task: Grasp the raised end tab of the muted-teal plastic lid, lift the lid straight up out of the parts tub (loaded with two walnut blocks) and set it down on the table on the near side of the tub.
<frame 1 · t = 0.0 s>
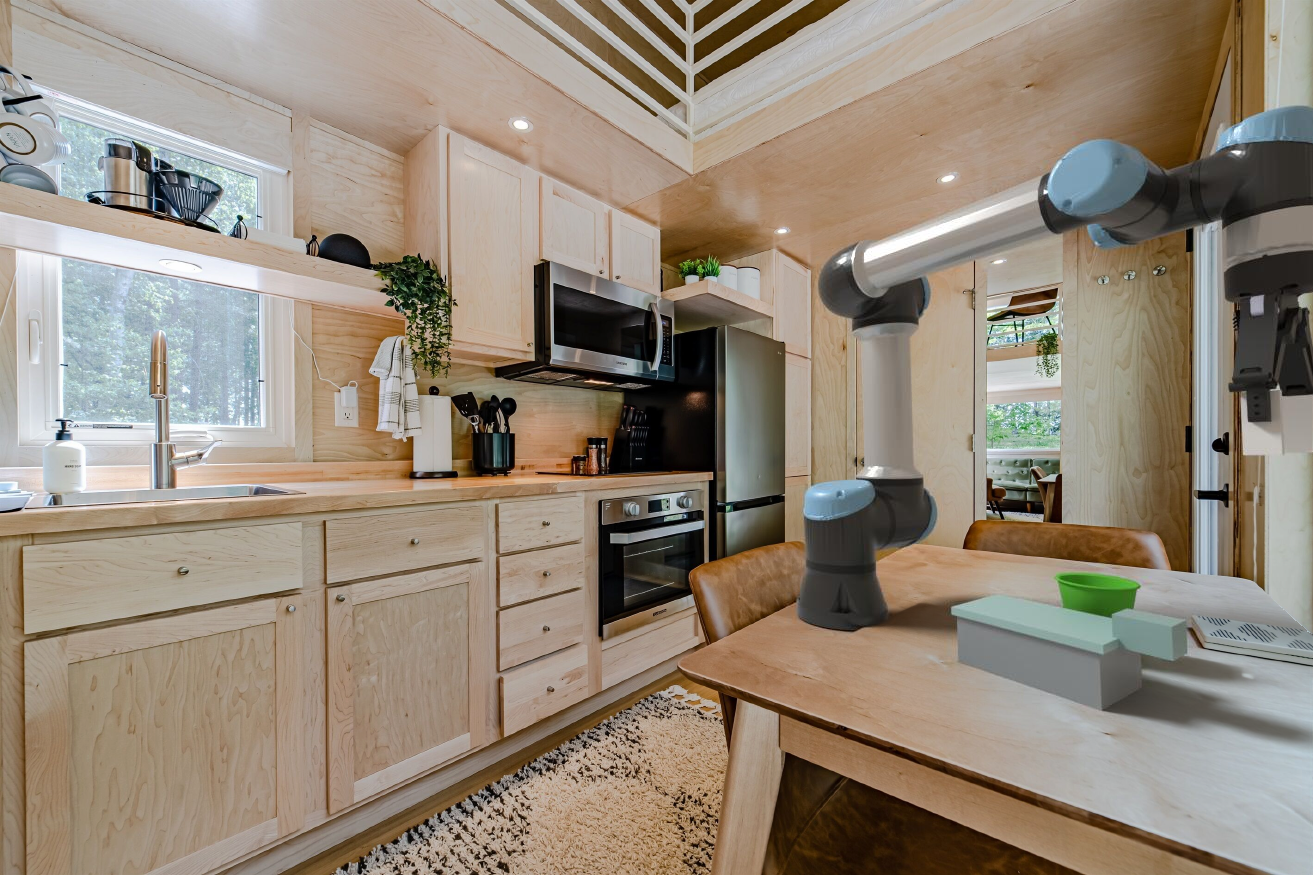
hand: (1282, 454, 58), 28 cm above the table, fingers open, 13 cm apart
block a: (1008, 663, 70), point 1 cm above the table, touching tub
cup: (1098, 663, 72), on the table
tub: (1044, 679, 67), on the table
block b: (1071, 678, 65), point 1 cm above the table, touching tub
lid: (1042, 623, 67), point 7 cm above the table, touching tub
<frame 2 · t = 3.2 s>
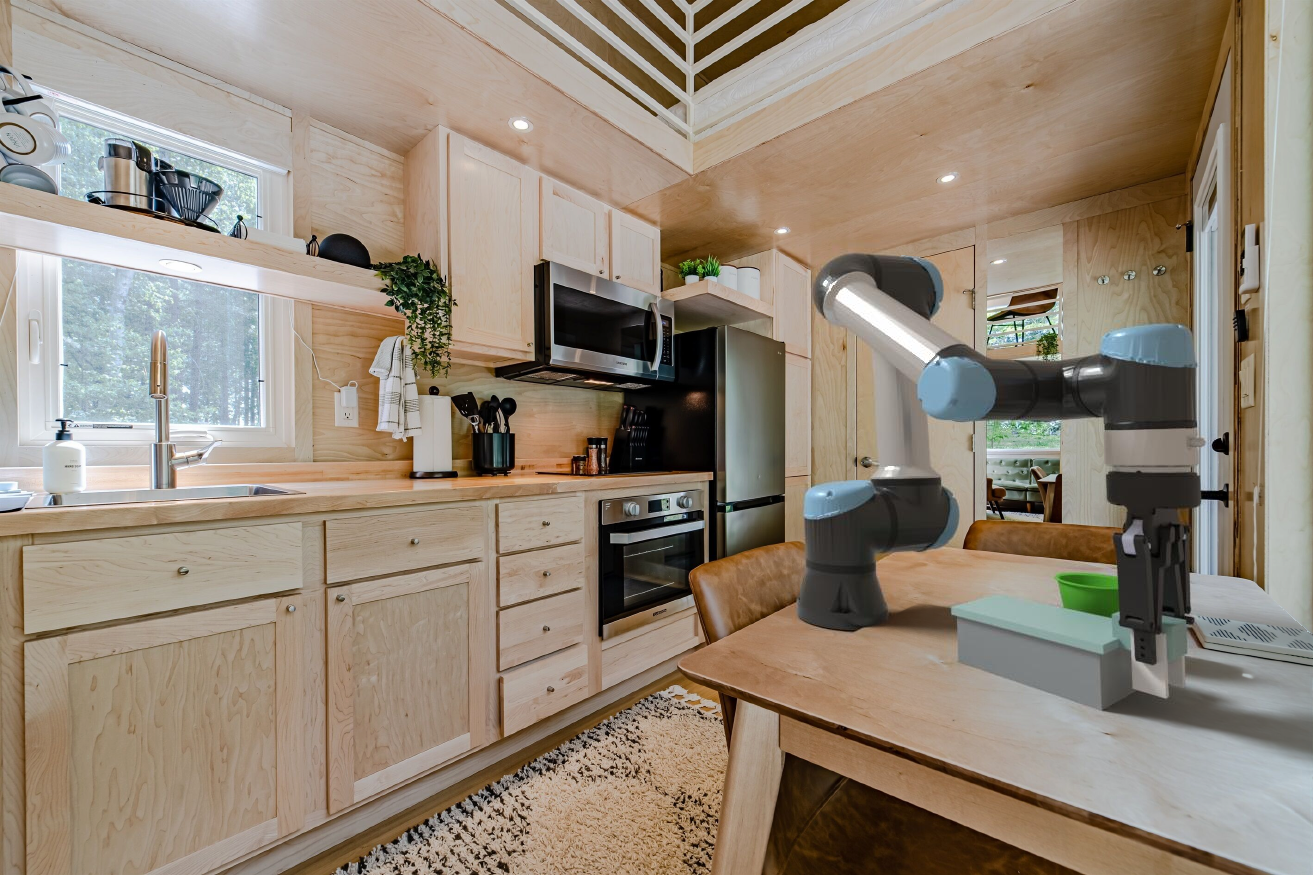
hand: (1159, 686, 58), 3 cm above the table, fingers closed on lid, 4 cm apart
lid: (1042, 623, 67), point 7 cm above the table, touching gripper, tub
everything else where it was.
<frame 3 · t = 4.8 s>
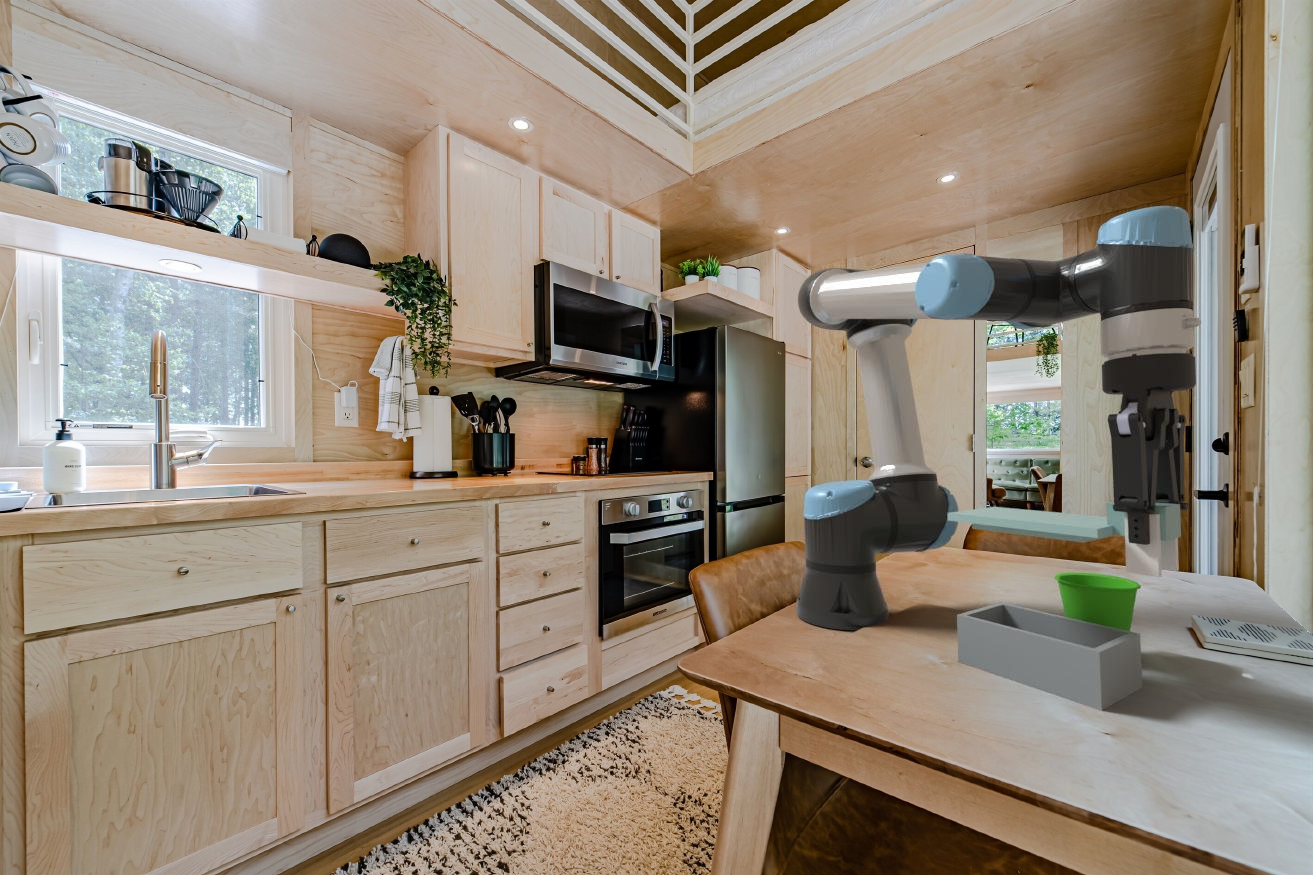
hand: (1152, 570, 58), 16 cm above the table, fingers closed on lid, 4 cm apart
lid: (1038, 524, 68), point 19 cm above the table, touching gripper
everything else where it was.
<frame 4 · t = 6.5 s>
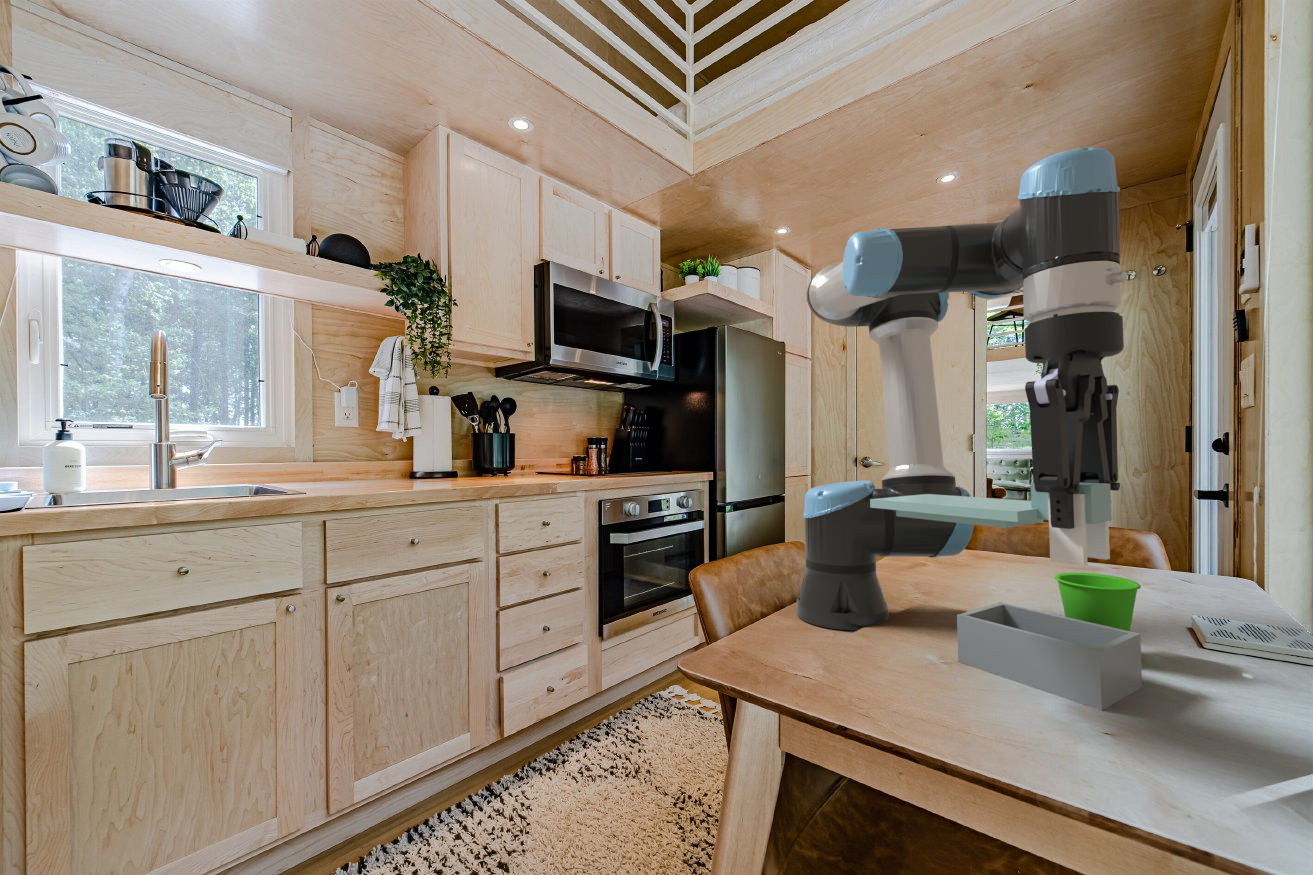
hand: (1080, 559, 51), 18 cm above the table, fingers closed on lid, 4 cm apart
lid: (965, 510, 61), point 22 cm above the table, touching gripper
everything else where it was.
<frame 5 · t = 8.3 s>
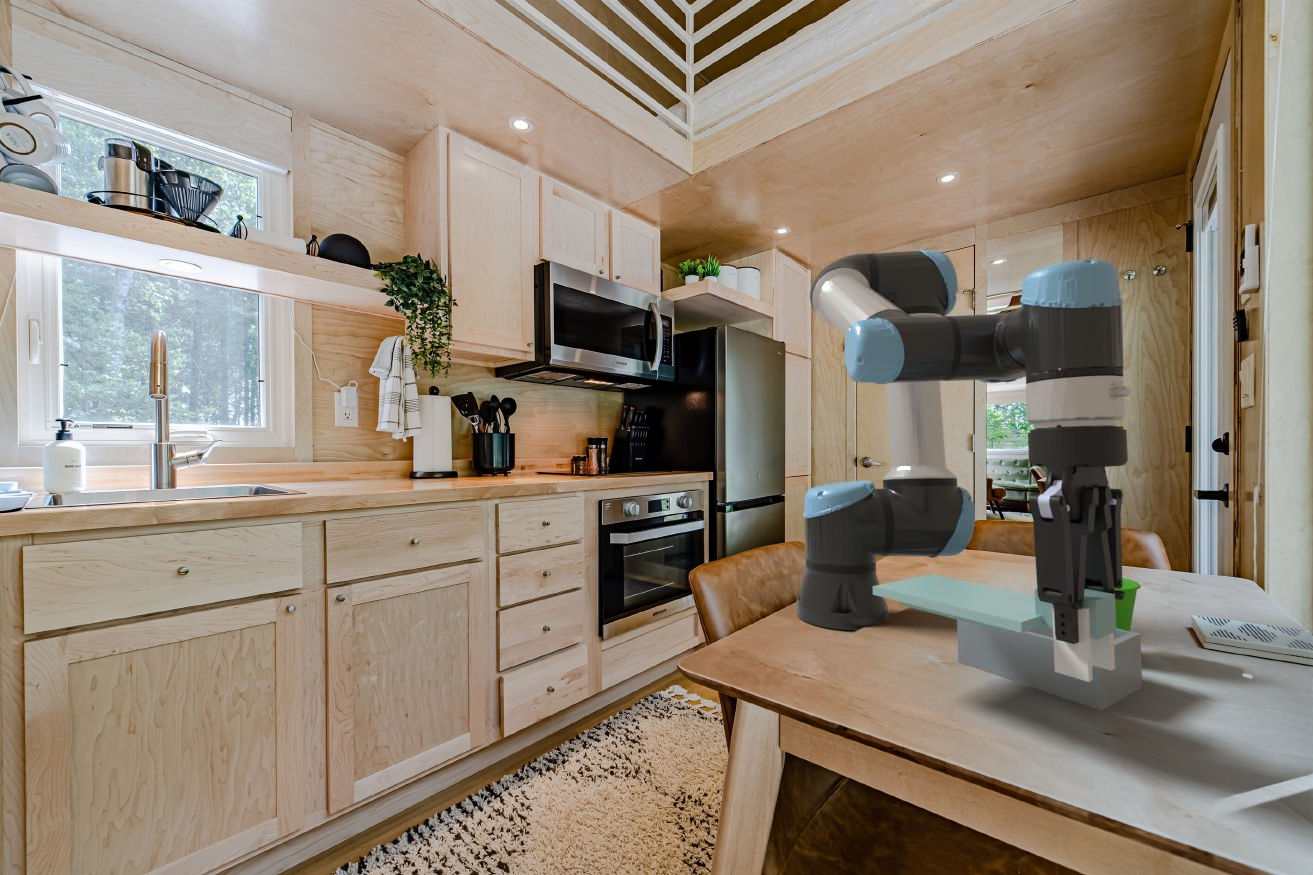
hand: (1084, 669, 51), 8 cm above the table, fingers closed on lid, 4 cm apart
lid: (968, 603, 61), point 12 cm above the table, touching gripper
everything else where it was.
when the fingers open (2 cm above the table, at t = 9.8 s): lid drops 5 cm, point 1 cm above the table.
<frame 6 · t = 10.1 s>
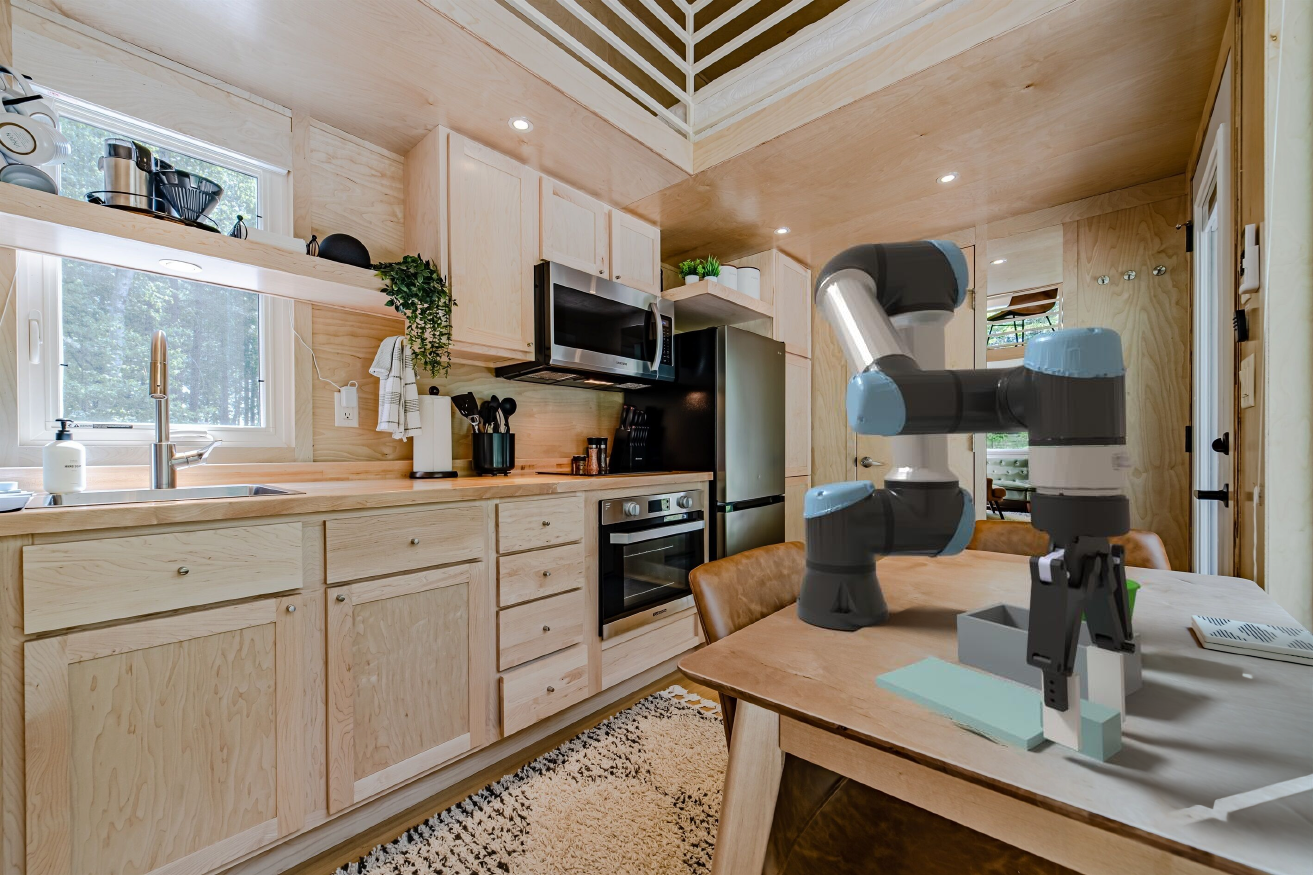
hand: (1085, 728, 51), 2 cm above the table, fingers open, 8 cm apart
lid: (972, 700, 60), point 1 cm above the table
everything else where it was.
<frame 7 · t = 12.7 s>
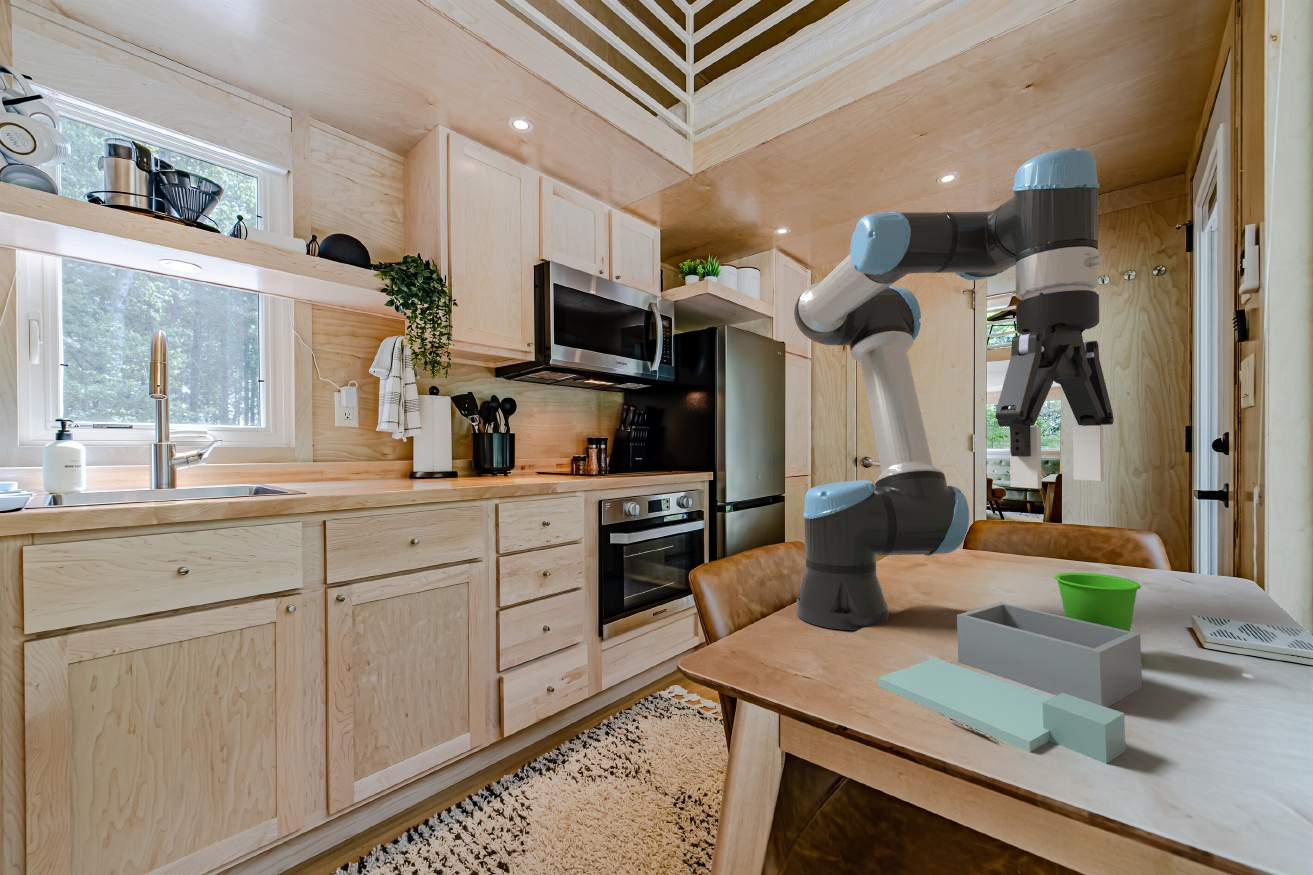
hand: (1058, 484, 61), 25 cm above the table, fingers open, 13 cm apart
nothing on the table moved.
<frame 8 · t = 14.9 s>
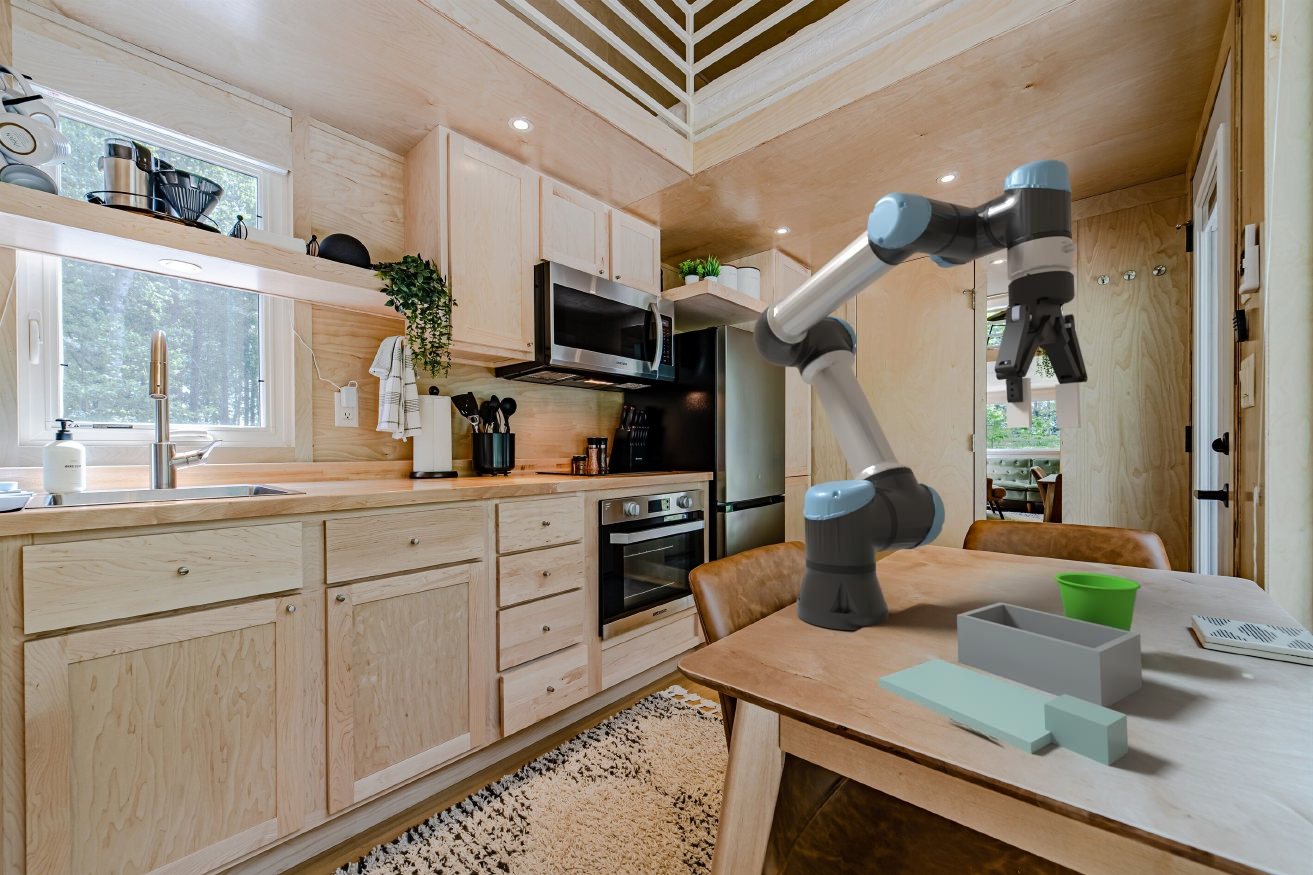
hand: (1045, 428, 75), 32 cm above the table, fingers open, 13 cm apart
nothing on the table moved.
at the end: lid inside the target area (2.5 cm from its centre), point 0.8 cm above the table; lid touching table; the gripper is holding nothing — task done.
